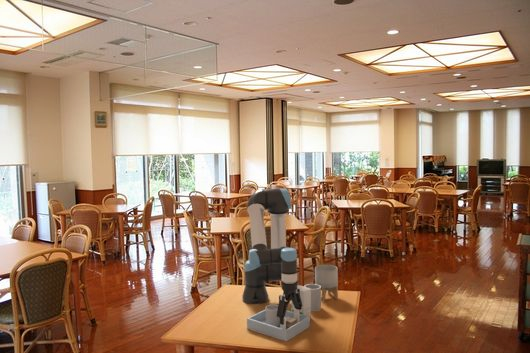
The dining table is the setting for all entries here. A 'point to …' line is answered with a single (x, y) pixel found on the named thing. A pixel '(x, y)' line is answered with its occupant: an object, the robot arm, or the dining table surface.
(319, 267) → the planter
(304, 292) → the skincare box
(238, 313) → the dining table surface
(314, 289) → the cup
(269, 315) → the cup
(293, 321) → the walnut cube
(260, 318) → the tote
